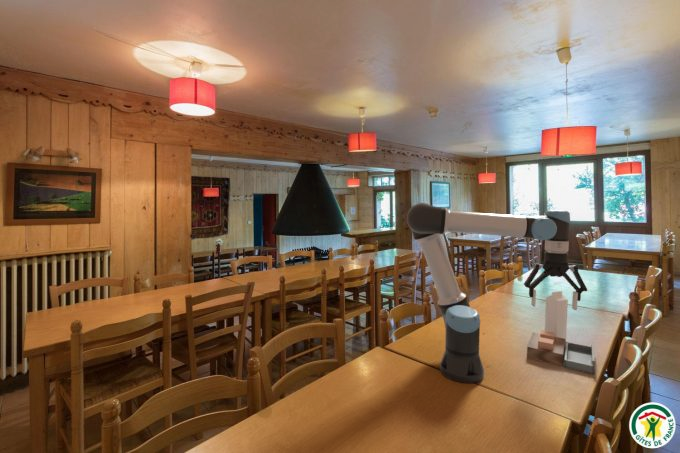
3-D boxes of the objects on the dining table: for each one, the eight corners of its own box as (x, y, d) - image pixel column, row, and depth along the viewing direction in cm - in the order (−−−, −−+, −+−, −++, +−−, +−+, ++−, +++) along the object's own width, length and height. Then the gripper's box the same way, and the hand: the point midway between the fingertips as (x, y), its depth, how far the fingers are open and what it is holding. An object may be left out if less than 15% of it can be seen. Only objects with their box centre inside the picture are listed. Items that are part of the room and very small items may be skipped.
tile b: (540, 339, 141) (540, 333, 141) (541, 335, 146) (541, 330, 145) (554, 342, 139) (554, 336, 138) (555, 338, 143) (555, 332, 142)
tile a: (537, 347, 134) (538, 341, 134) (539, 342, 138) (539, 336, 138) (552, 350, 131) (552, 344, 131) (553, 345, 135) (553, 339, 135)
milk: (566, 340, 151) (568, 292, 149) (555, 342, 149) (558, 293, 148) (554, 335, 157) (556, 289, 155) (543, 337, 155) (546, 290, 153)
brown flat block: (526, 357, 135) (527, 346, 135) (532, 342, 150) (532, 332, 149) (562, 365, 128) (563, 354, 128) (564, 349, 143) (565, 338, 142)
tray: (564, 367, 127) (564, 354, 126) (566, 348, 143) (566, 337, 143) (593, 374, 122) (594, 361, 121) (592, 353, 138) (593, 342, 137)
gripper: (521, 251, 126) (518, 307, 128) (600, 254, 118) (596, 313, 120) (517, 248, 133) (515, 301, 135) (591, 251, 126) (588, 307, 127)
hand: (553, 307), depth 127 cm, fingers open, 13 cm apart
